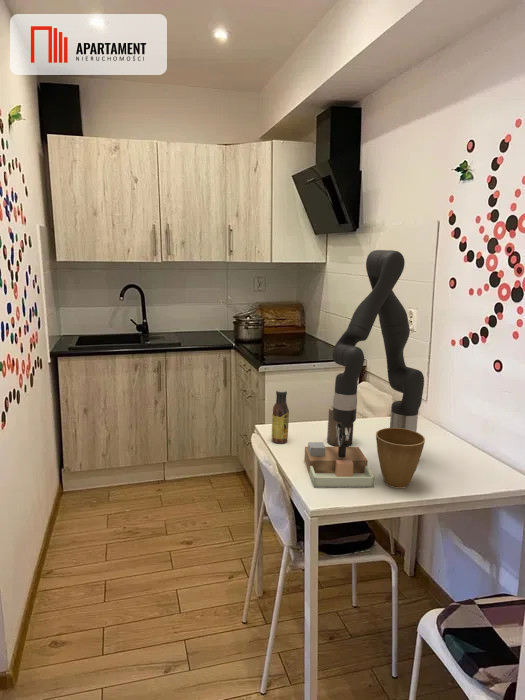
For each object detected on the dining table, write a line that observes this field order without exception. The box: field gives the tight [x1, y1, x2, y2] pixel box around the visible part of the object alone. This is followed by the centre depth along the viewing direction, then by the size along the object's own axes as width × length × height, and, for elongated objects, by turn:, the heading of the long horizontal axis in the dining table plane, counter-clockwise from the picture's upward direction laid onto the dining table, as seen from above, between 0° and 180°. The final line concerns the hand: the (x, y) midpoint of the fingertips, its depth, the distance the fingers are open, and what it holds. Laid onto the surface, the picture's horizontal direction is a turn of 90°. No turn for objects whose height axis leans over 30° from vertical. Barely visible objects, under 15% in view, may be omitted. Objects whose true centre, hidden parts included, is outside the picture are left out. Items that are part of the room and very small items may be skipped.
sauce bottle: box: [271, 389, 290, 444], centre depth 195 cm, size 7×6×20 cm
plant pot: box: [375, 427, 426, 489], centre depth 162 cm, size 15×15×16 cm
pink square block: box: [335, 460, 353, 477], centre depth 166 cm, size 5×5×3 cm
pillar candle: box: [326, 405, 355, 447], centre depth 196 cm, size 10×10×15 cm
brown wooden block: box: [303, 446, 368, 474], centre depth 174 cm, size 19×12×5 cm, turn 93°
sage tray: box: [308, 465, 376, 489], centre depth 164 cm, size 19×9×3 cm, turn 93°
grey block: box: [307, 441, 326, 456], centre depth 173 cm, size 5×5×3 cm
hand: (341, 456), depth 169 cm, fingers closed
